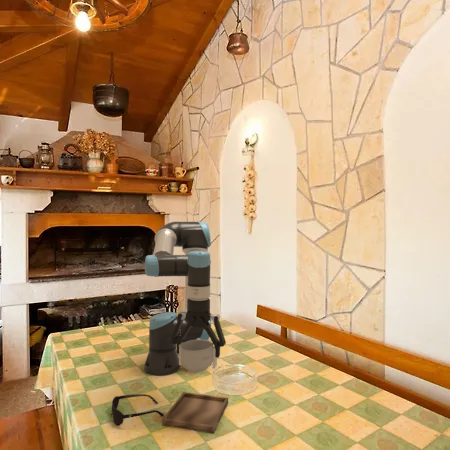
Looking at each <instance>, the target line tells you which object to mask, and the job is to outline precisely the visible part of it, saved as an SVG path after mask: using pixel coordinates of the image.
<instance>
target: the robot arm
mask: <svg viewBox="0 0 450 450" xmlns="http://www.w3.org/2000/svg"><path fill="white" fill-rule="evenodd" d="M154 243H155V246H154V250H153V253H152V254H148V255H146V256H145V259H144V273H145V276H147V277H154V278H158V277H185V278H184V279H185V281H184V282H185V283H184V284H185V289H184V290H185V291H184V292H185V297H184V298H185V300H184V305H185V306H184V309H183V310H182V311H180V312H179V313H178V314H177V313H176V312H174V311H173V312H172V311H165V312H161V313H157V314H155V315H153V316H151V317H150V319H149V322H148V323H149V325H148V330H149V331H148V332H149V333H148V353H147V357H146V359H145V362H144V371H145V373H147V374H148V375H153V376H167V375H171V374H174V373H176V372H178V371H179V370H180V369H181V366H183V365H182V362H181V352H180V345H181V344H182V343H184V342H186V341H190V340H196V339H197V338H201V340H209V339H210V340H209V341H211V342H212V343H213V362H212V369H216V368H217V366H218V358H219V357H220V355H221V347H224V346H225V345H226V344H227V343H226V339H225V335H224V332H223V329H222V326H221V323H220V314H215V315H213V314H211V299H210V297H211V265H212V264H211V263H212V260H211V253H210V251H208V250H209V249H208V248H210V247H211V245H212V241H211V231H210V226H209V225H208V223H207V222H206V221H204V222H203V221H171V222H168V223H165V224H164V225H162V226H160V227H159V228H158V230H157V231H156V232H155V235H154ZM175 248H181V249H182V252H183V253H184V254H174V249H175ZM212 323H213V324H214V325H213V326H214V328H215V331H214V330H213V328H212ZM215 332H216V333H215Z"/></svg>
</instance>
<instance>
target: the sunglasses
mask: <svg viewBox="0 0 450 450" xmlns="http://www.w3.org/2000/svg"><path fill="white" fill-rule="evenodd" d="M136 397H147V398H149V399H150V400H151V401H152V402H153V403H154V404H155V405H159V402H158V401H157V400H156V399H155V398H154V397H153V396H152V395H149V394H145V393H143V394H141V393H139V394H138V393H136V394H135V393H134V394H126V395H125V394H124V395H123V394H122V395H116V396H114V397H113V398H112V402H111V415H112V422H113V424H115V426H117V427H118V426H121V425H123V423H124V420H125V419H131V418H135V417H139V416H140V417H141V416H145V415H149V414H150V415H151V414H152V413H153V414H154V413H157V414H158V415H159V416H160V417H165V414H164V413H162V412H161V411H159V410H157V409H155V410H150V411H144V412H137V413H129V414H128V413H127V414H124V413H123V412H121V411H120V410H119V409H118V406H119V403H120V400H123V399H130V398H136Z"/></svg>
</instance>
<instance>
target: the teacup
mask: <svg viewBox="0 0 450 450" xmlns="http://www.w3.org/2000/svg"><path fill="white" fill-rule="evenodd" d="M213 347H214V344H213V342H212V341H211V340H201V338H197V339H196V340H190V341H186V342H184V343H182V344H181V345H180V352H181V362H182V365H181V366H183V368H184V369H186V370H187V371H189V372H191V373H200V372H201V373H202V372H204V371H206V370H208V368H209V367H211V366H212V365H213Z"/></svg>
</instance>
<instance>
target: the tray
mask: <svg viewBox="0 0 450 450" xmlns="http://www.w3.org/2000/svg"><path fill="white" fill-rule="evenodd" d="M228 404H229V397H227V396H226V397H224V396H215V395H211V394H210V395H209V394H203V393H196V392H195V393H194V392H187V391H183V392H182V393H181V394H180V396H179V398H177V400H176V401H175V403H173V405H172V406H171V408H169V410H168V411H167V413H166V414H164V416H163V418H162V422H161V423H162V424H161V425H162V426H164V427H172V428H177V429H178V428H179V429H183V430H184V429H185V430H191V431H196V432H198V431H199V432H202V433H203V432H204V433H209V434H210V433H211V434H215V432H216V430H217V428H218V427H219V424H220V422H221V420H222V417H223V415H224V413H225V411H226V409H227V406H228Z"/></svg>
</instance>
